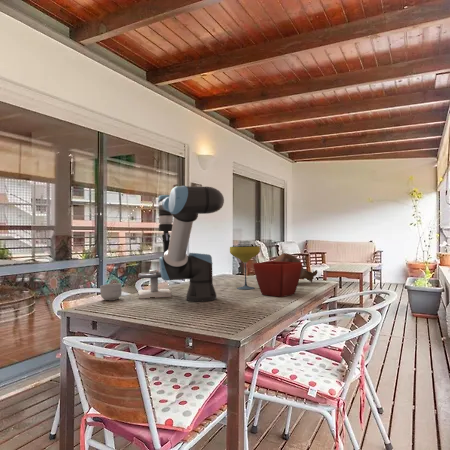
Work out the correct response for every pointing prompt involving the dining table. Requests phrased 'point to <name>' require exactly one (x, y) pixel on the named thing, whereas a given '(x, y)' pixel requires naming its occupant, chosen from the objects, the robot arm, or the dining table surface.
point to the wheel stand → (154, 290)
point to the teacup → (111, 291)
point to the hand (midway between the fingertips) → (166, 267)
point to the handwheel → (150, 274)
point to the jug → (304, 273)
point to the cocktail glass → (245, 258)
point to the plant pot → (277, 277)
